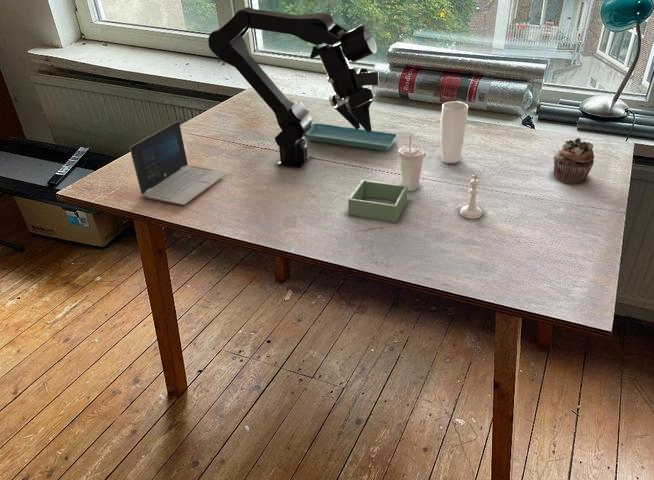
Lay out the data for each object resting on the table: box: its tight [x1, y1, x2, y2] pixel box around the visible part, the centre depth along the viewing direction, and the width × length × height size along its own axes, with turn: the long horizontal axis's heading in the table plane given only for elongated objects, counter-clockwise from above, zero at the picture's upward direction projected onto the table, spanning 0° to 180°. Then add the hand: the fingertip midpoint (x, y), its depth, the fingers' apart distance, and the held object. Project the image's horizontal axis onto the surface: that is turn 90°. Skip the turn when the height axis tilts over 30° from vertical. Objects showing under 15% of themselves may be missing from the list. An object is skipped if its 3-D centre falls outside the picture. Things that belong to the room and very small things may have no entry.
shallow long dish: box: [303, 122, 399, 152], centre depth 164 cm, size 26×9×2 cm, turn 72°
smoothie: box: [398, 133, 426, 192], centre depth 137 cm, size 6×6×14 cm
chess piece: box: [459, 172, 483, 219], centre depth 128 cm, size 5×5×10 cm
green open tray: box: [347, 179, 408, 223], centre depth 132 cm, size 11×10×4 cm
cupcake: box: [553, 137, 595, 185], centre depth 142 cm, size 10×10×10 cm
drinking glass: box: [440, 100, 469, 164], centre depth 149 cm, size 7×7×15 cm
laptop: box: [129, 120, 228, 206], centre depth 138 cm, size 18×12×13 cm
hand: (363, 129), depth 141 cm, fingers open, 9 cm apart
